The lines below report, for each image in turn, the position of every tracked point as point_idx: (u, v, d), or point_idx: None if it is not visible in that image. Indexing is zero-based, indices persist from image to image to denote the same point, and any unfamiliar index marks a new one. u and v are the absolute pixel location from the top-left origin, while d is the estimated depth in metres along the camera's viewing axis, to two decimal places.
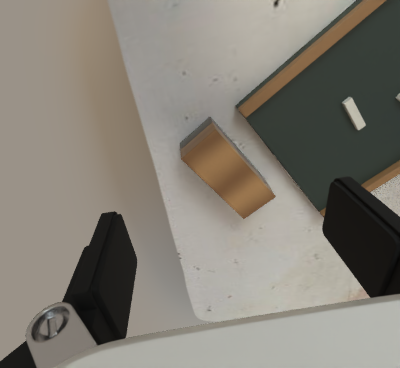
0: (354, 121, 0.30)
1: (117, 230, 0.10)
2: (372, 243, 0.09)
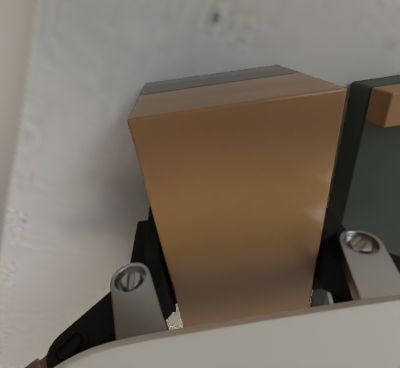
0: None
1: None
2: None
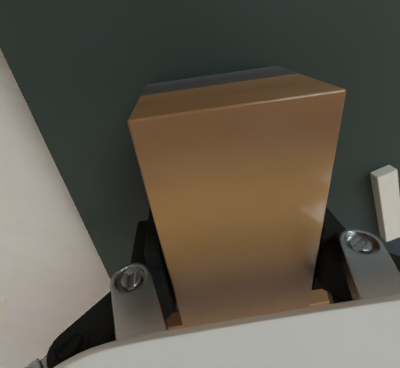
0: None
1: None
2: None
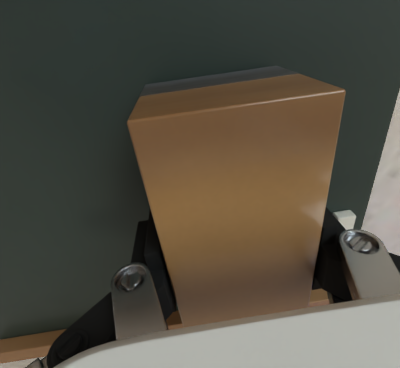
0: None
1: None
2: None
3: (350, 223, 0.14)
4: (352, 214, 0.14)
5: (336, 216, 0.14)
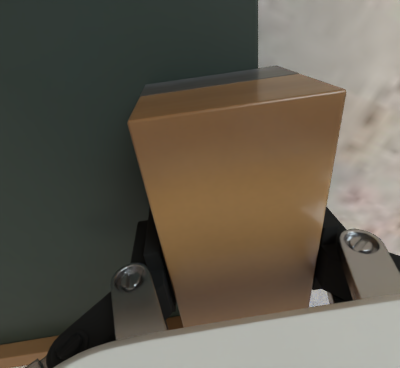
0: None
1: None
2: None
3: None
4: None
5: None
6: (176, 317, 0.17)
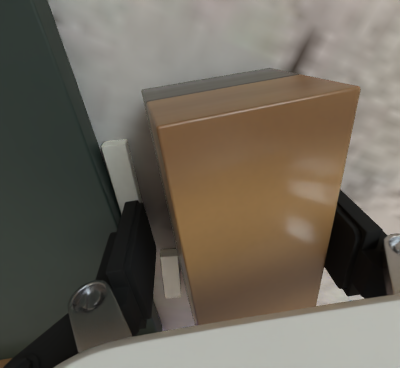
0: (119, 204, 0.12)
1: (141, 217, 0.10)
2: (337, 235, 0.09)
3: None
4: (162, 251, 0.14)
5: None
6: None
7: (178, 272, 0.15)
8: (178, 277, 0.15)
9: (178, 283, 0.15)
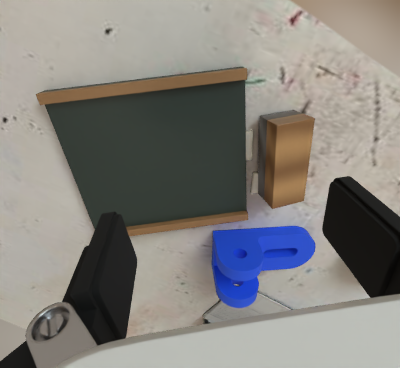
0: None
1: (117, 230, 0.10)
2: (372, 243, 0.09)
3: None
4: (254, 172, 0.38)
5: None
6: (211, 215, 0.40)
7: None
8: None
9: (257, 186, 0.39)
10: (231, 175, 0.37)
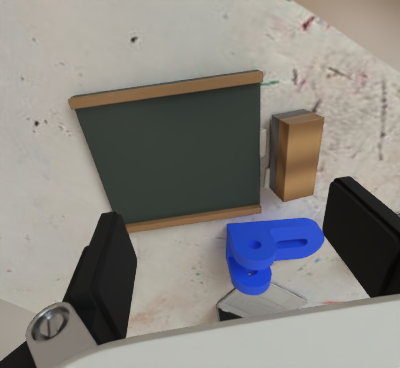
0: None
1: (117, 230, 0.10)
2: (372, 243, 0.09)
3: None
4: None
5: None
6: (226, 209, 0.43)
7: None
8: None
9: None
10: (246, 171, 0.39)
